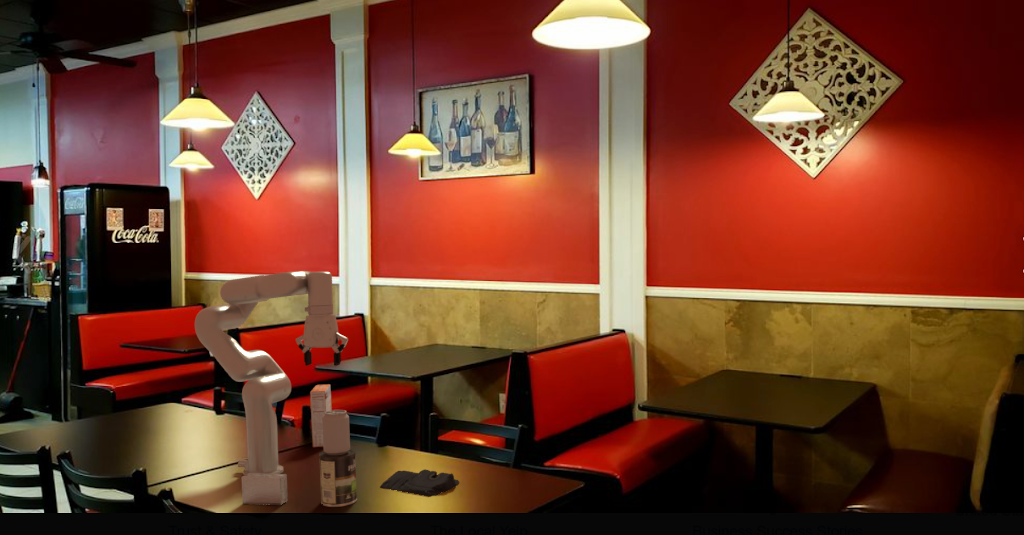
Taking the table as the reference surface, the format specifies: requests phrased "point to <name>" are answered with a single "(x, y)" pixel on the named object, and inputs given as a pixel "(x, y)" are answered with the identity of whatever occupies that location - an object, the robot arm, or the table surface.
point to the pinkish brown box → (264, 489)
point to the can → (336, 432)
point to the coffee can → (338, 479)
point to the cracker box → (319, 411)
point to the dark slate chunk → (420, 482)
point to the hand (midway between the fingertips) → (322, 365)
